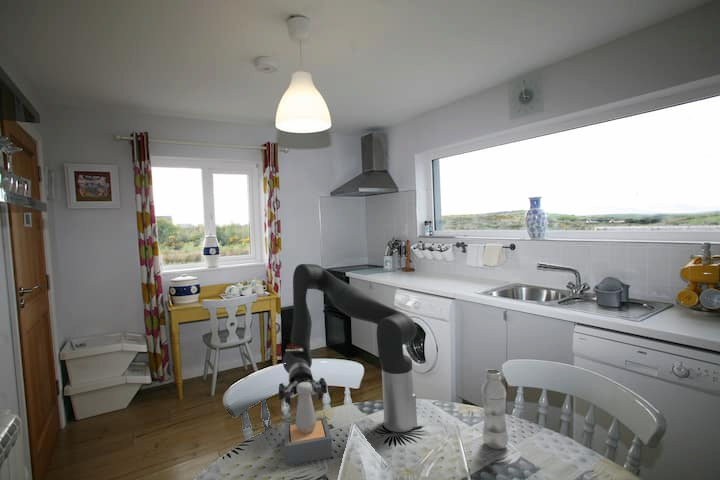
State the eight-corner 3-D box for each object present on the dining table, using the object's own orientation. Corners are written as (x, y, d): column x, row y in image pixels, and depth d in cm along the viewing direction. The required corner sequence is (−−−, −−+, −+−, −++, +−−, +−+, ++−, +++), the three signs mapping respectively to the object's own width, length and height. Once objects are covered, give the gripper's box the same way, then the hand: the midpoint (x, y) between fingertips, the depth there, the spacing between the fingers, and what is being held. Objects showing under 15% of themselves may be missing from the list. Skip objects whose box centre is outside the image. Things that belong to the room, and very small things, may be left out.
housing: (326, 433, 109) (325, 416, 109) (332, 456, 98) (331, 438, 98) (285, 440, 107) (284, 423, 107) (286, 465, 95) (285, 446, 95)
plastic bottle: (482, 450, 97) (479, 375, 97) (483, 436, 104) (480, 366, 103) (509, 454, 95) (506, 377, 95) (508, 440, 101) (505, 368, 101)
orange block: (321, 431, 107) (321, 420, 107) (326, 449, 99) (325, 436, 99) (290, 437, 106) (289, 425, 105) (291, 455, 97) (291, 442, 97)
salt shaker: (312, 436, 99) (310, 388, 98) (292, 435, 100) (290, 387, 100) (319, 425, 104) (317, 379, 104) (300, 424, 106) (298, 379, 105)
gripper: (277, 368, 120) (278, 389, 104) (321, 363, 123) (328, 382, 107) (278, 391, 120) (279, 415, 104) (322, 385, 123) (329, 408, 107)
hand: (304, 398), depth 105 cm, fingers open, 8 cm apart
